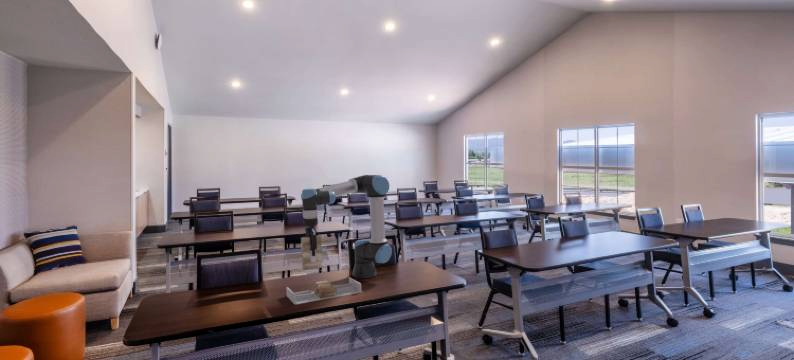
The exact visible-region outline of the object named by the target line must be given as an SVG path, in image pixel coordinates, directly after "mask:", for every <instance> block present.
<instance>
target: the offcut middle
mask: <svg viewBox="0 0 794 360" xmlns="http://www.w3.org/2000/svg"><path fill="white" fill-rule="evenodd" d="M314 289H315V290H316V291H318V292H319V293H321V294H322V295H324V294H329V293H334V292H336V288H334V287H333V285H331V288H329V289H322V290H319V289H318V288H317V286H316V285H315V286H314Z"/></svg>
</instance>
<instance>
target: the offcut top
mask: <svg viewBox="0 0 794 360" xmlns="http://www.w3.org/2000/svg"><path fill="white" fill-rule="evenodd" d="M315 286H317V288H318V289H319V290H322V289H329V288H331V286H332V284H331V283H330V282H329V281H328V280H320V281H315Z"/></svg>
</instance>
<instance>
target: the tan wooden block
mask: <svg viewBox="0 0 794 360" xmlns="http://www.w3.org/2000/svg"><path fill="white" fill-rule="evenodd" d="M300 244H301V245H300V248H301V265H302V266H301V268H302V271H308V270H315V269H320V268H323V252H322V250H323V249H322V236H321V235H320V234H319V235H317V249H316V262H311V257H310V250H309V249H311V246H310V237H306V236H302V237H300Z"/></svg>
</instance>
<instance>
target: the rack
mask: <svg viewBox="0 0 794 360" xmlns="http://www.w3.org/2000/svg"><path fill="white" fill-rule="evenodd" d="M332 287H334V288H336V292H335V296H332V297H326V298H320V297H318V296H317V295H316V294H315V293H314V291H312V289H310V290H303V291H298V292H293V290H291V289H290V288H289V286H287V287H286V297H287V298H288V299H289V300H290V302H291V303H292V304H293V305H300V304H305V303H310V302H316V301H321V300H328V299H333V298H338V297H339V298H340V297H344V296H349V295H355V294H361V293H362V283H361V282H359V281H357V280H355V279H354V278H352V277H350V276H348V283H345V284H338V285H332Z"/></svg>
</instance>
